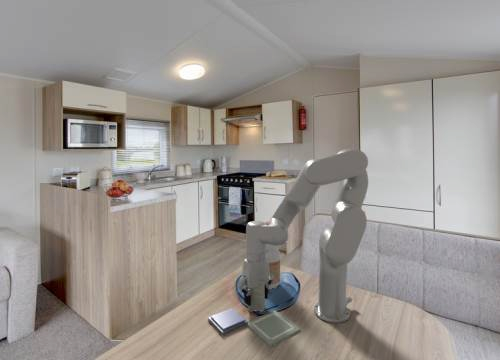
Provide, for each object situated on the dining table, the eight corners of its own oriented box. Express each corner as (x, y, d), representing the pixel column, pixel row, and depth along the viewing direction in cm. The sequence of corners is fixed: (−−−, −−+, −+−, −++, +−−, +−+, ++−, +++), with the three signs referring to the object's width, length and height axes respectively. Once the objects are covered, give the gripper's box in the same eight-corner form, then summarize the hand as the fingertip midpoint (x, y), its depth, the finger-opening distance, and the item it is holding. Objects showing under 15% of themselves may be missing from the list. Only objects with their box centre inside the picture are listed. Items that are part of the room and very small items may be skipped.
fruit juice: (272, 292, 118) (273, 227, 115) (254, 285, 124) (254, 223, 121) (283, 283, 126) (284, 222, 123) (265, 277, 132) (266, 219, 128)
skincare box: (264, 306, 108) (265, 276, 107) (264, 313, 104) (264, 281, 102) (248, 305, 109) (248, 275, 107) (247, 312, 104) (247, 280, 103)
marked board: (274, 311, 104) (275, 310, 104) (300, 330, 94) (300, 328, 94) (245, 324, 97) (245, 322, 97) (270, 346, 86) (270, 344, 86)
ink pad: (232, 311, 105) (232, 306, 105) (248, 324, 97) (248, 319, 96) (208, 320, 99) (208, 315, 99) (222, 335, 91) (222, 330, 91)
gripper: (268, 247, 112) (268, 290, 114) (230, 257, 102) (231, 303, 104) (281, 253, 106) (280, 298, 108) (242, 264, 96) (242, 313, 98)
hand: (256, 300), depth 106 cm, fingers closed on skincare box, 7 cm apart
